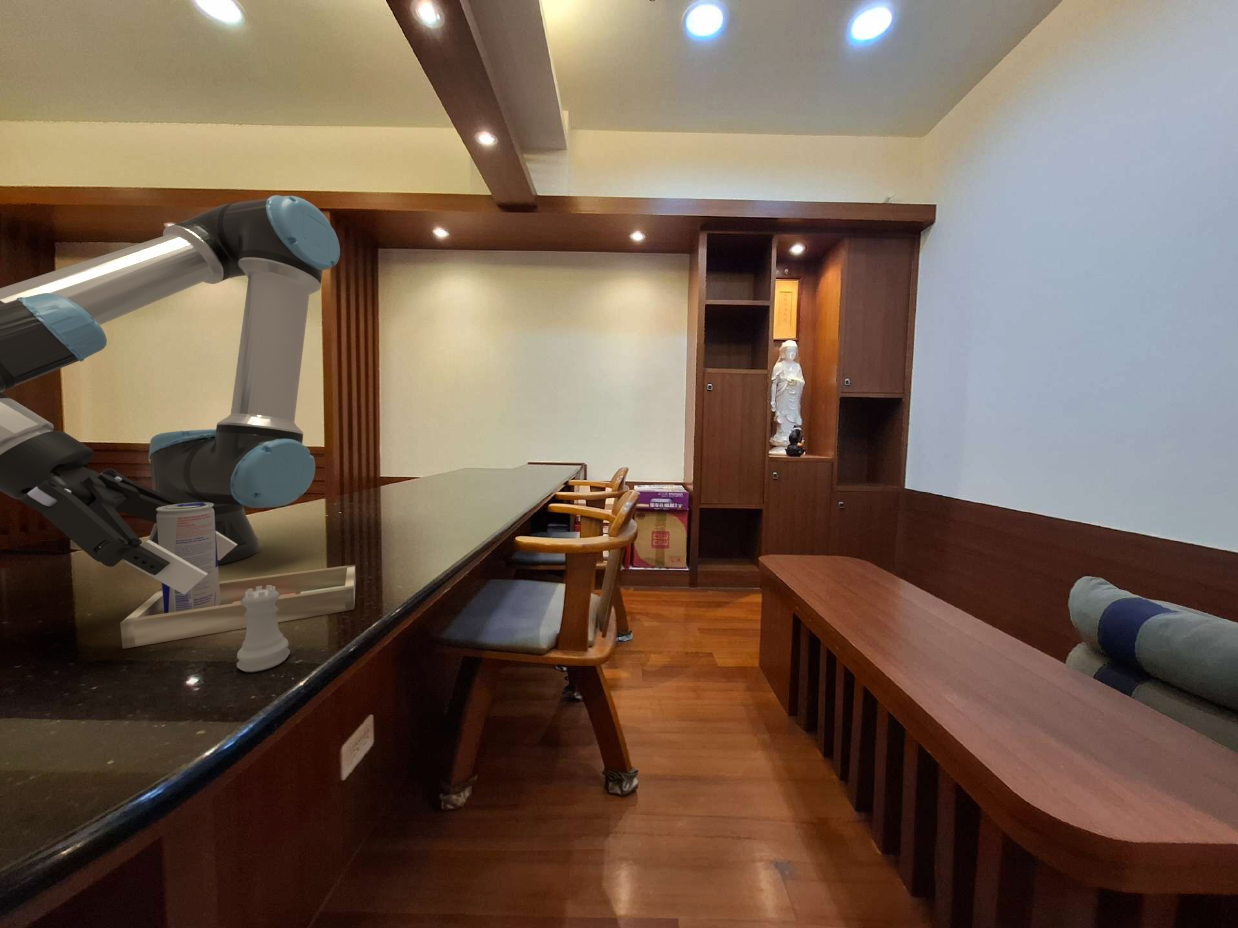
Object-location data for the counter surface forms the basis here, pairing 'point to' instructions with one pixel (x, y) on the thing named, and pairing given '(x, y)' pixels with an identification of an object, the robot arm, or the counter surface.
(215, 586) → the beverage can
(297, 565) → the counter surface
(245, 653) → the rook chess piece
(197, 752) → the counter surface
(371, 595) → the counter surface
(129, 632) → the wooden serving tray
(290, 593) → the pads
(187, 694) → the counter surface
